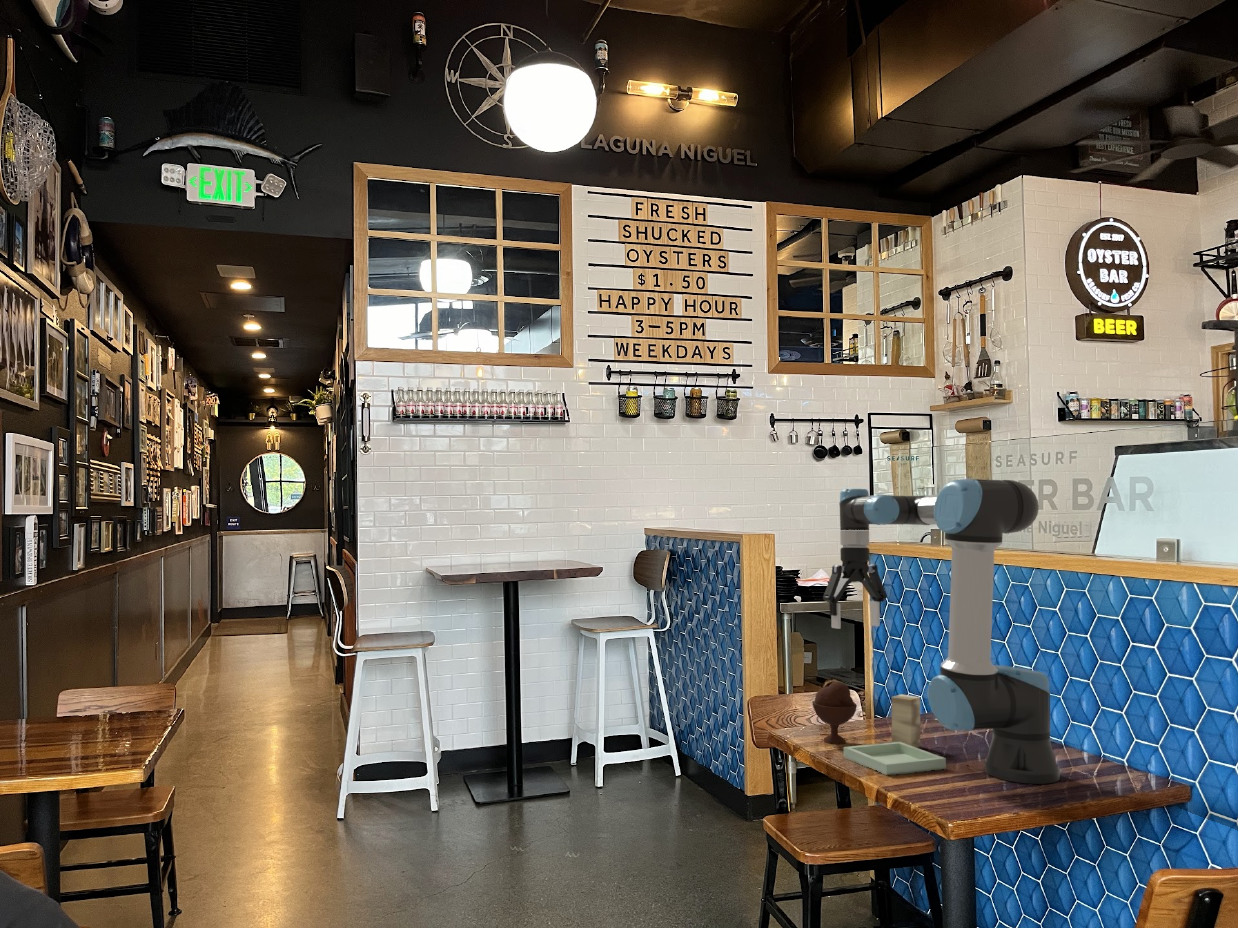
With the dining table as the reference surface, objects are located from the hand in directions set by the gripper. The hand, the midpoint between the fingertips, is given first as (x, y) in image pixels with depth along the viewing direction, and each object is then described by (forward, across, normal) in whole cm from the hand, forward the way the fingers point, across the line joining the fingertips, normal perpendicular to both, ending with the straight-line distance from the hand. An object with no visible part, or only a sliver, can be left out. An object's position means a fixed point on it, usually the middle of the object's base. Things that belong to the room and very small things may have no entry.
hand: (855, 627), depth 242 cm
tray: (+28, +14, +28) cm, 42 cm away
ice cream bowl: (+28, +13, +6) cm, 31 cm away
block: (+27, 0, +17) cm, 32 cm away
